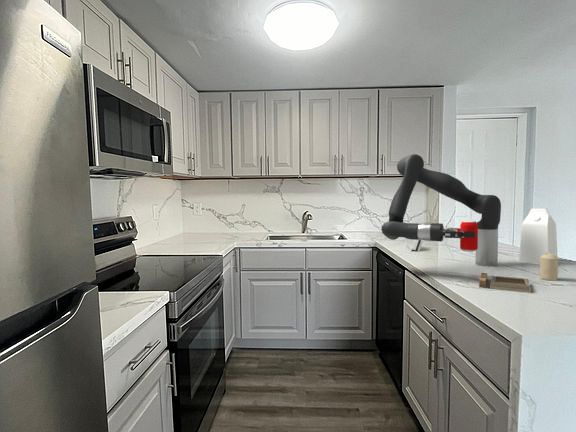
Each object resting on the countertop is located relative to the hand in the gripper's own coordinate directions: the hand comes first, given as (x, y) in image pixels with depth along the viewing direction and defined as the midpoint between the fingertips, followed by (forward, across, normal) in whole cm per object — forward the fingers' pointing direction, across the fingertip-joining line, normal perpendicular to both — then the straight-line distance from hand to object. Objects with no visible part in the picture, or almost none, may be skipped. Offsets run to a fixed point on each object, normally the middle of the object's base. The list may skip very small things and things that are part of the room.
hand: (475, 233), depth 135 cm
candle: (+25, +14, +19) cm, 34 cm away
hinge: (-37, +67, +20) cm, 79 cm away
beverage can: (-2, 0, +7) cm, 8 cm away
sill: (+3, -4, +19) cm, 19 cm away
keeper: (+12, -5, +18) cm, 22 cm away
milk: (+23, +50, +19) cm, 58 cm away
